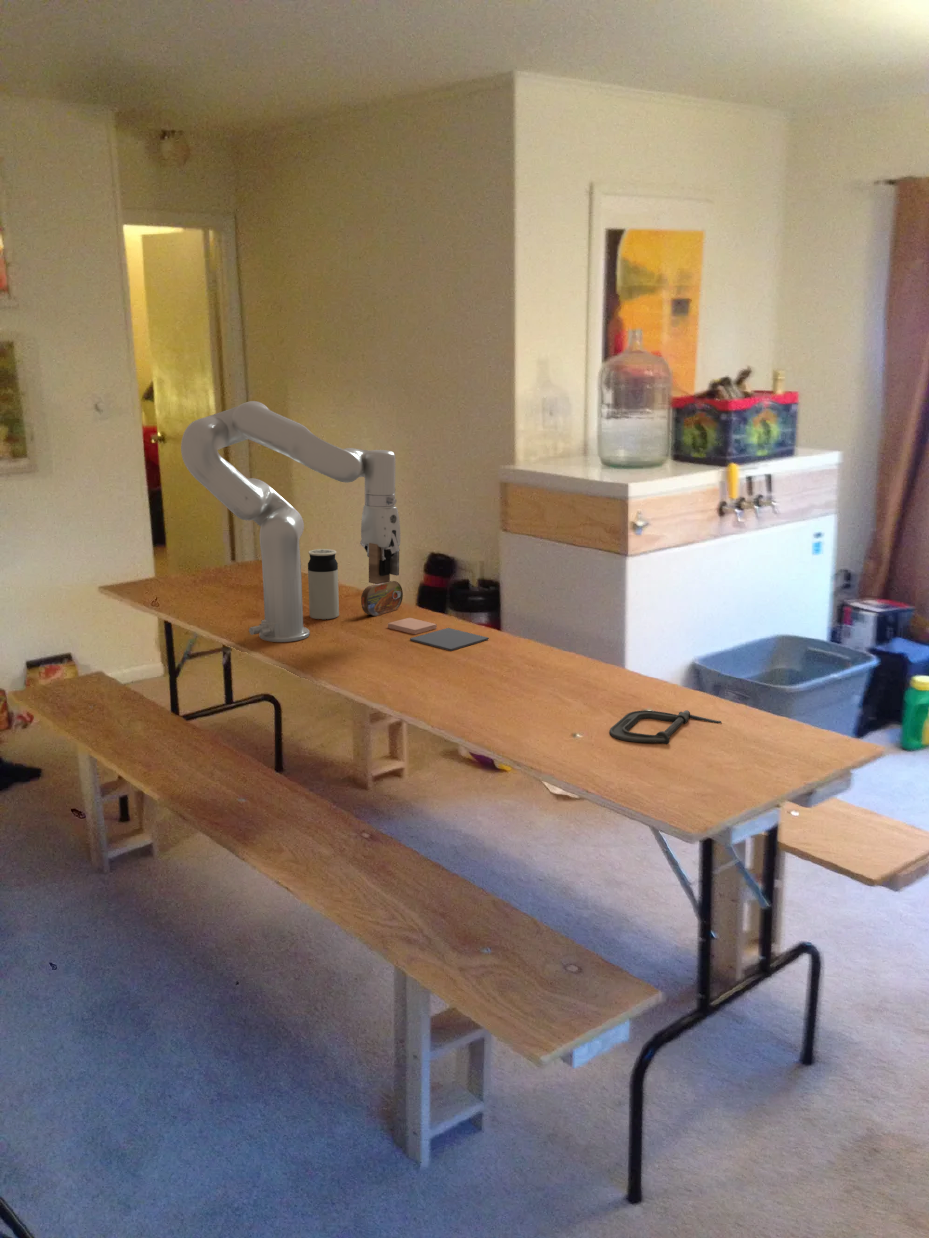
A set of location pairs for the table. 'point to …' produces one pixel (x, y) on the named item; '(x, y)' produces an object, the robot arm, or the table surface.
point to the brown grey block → (374, 565)
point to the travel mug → (323, 584)
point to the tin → (381, 598)
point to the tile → (412, 626)
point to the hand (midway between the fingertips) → (379, 573)
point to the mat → (449, 639)
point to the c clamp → (632, 718)
